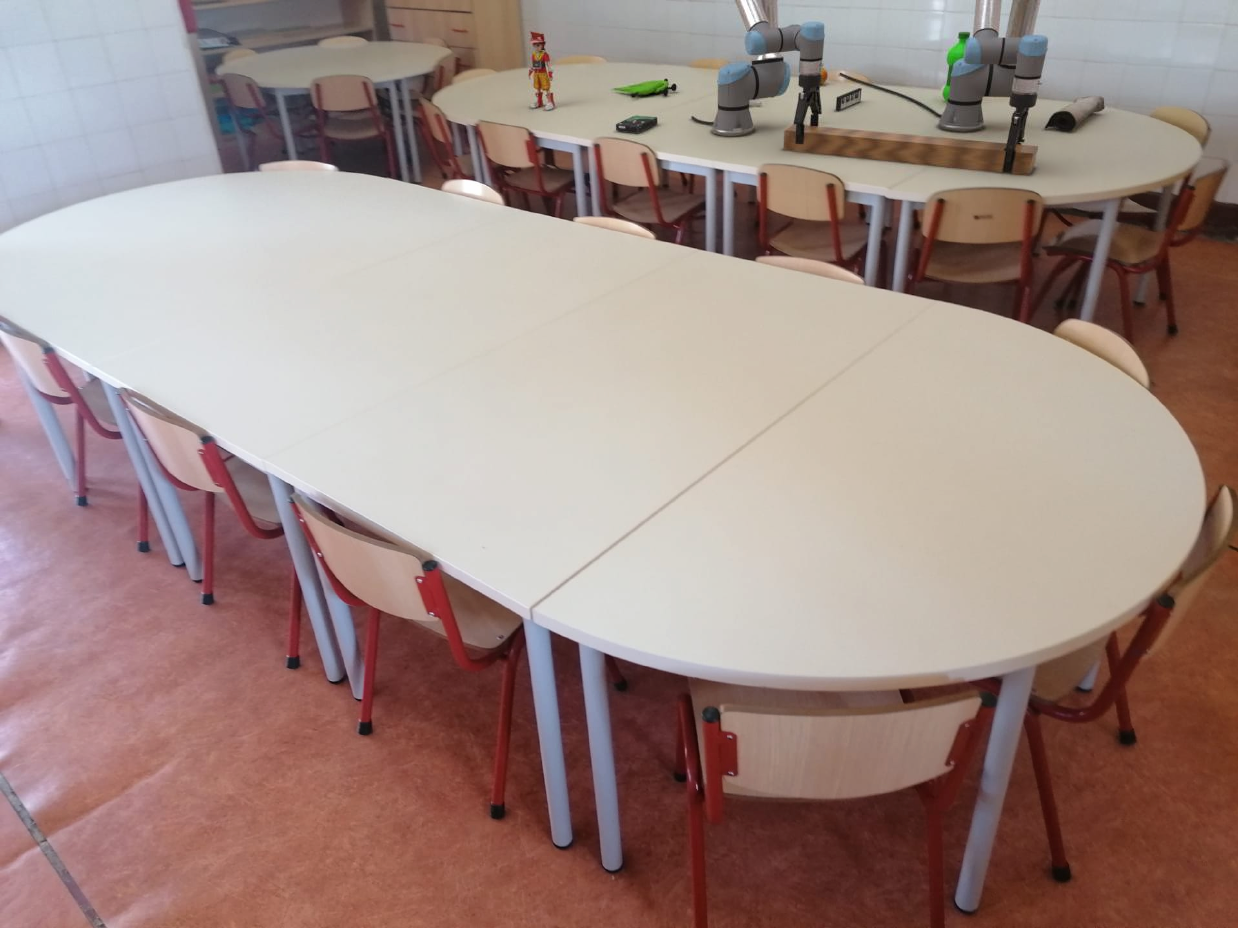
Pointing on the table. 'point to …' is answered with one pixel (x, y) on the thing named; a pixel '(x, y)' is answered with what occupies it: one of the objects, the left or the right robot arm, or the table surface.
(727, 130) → the left robot arm
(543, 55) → the toy
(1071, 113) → the rolled mat
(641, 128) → the disk drive
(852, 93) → the midi keyboard
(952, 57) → the plastic bottle
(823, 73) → the fruit
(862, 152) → the slab
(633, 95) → the toy
